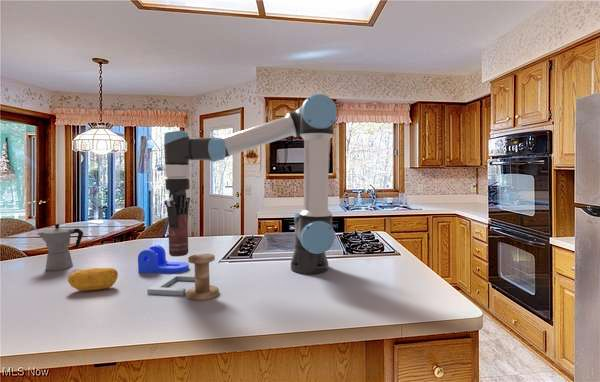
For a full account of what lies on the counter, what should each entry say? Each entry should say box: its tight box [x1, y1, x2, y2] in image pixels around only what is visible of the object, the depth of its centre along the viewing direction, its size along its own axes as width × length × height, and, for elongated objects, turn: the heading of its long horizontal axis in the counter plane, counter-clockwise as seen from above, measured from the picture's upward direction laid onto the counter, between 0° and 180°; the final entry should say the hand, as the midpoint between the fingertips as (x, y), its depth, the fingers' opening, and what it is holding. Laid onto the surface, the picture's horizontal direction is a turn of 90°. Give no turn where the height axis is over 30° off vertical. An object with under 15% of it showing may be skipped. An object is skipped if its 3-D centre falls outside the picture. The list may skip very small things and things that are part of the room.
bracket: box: [137, 244, 190, 274], centre depth 130 cm, size 18×8×9 cm, turn 86°
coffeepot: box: [36, 223, 84, 272], centre depth 134 cm, size 15×9×18 cm, turn 113°
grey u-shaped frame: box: [146, 273, 195, 296], centre depth 111 cm, size 12×15×2 cm
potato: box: [67, 267, 119, 291], centre depth 109 cm, size 7×14×7 cm, turn 98°
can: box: [167, 213, 189, 258], centre depth 110 cm, size 6×6×14 cm
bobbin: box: [185, 253, 220, 302], centre depth 104 cm, size 10×10×12 cm
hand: (179, 247), depth 110 cm, fingers closed
